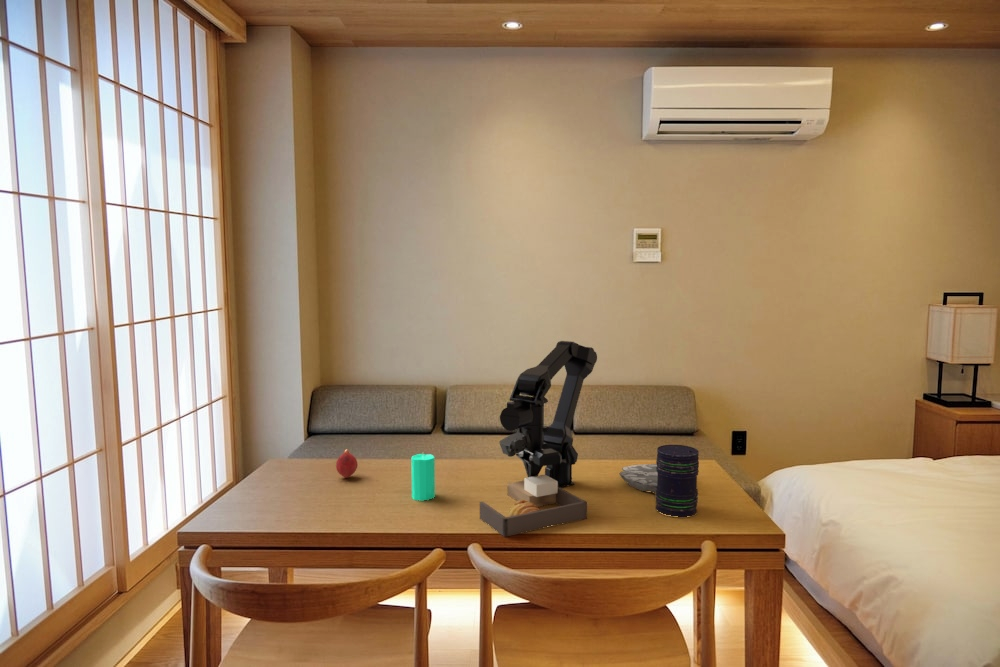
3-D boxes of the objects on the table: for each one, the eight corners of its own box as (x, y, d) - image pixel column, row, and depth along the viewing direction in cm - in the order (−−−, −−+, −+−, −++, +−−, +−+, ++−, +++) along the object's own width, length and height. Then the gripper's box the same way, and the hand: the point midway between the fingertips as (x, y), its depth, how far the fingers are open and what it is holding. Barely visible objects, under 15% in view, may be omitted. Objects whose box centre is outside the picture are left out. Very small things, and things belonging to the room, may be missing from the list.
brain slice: (627, 470, 195) (627, 460, 195) (688, 477, 189) (688, 467, 189) (612, 492, 177) (612, 481, 177) (679, 500, 171) (679, 489, 171)
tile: (544, 485, 172) (544, 474, 172) (557, 493, 167) (557, 481, 167) (524, 489, 169) (524, 478, 169) (536, 497, 164) (536, 485, 164)
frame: (558, 502, 169) (558, 486, 168) (586, 518, 158) (587, 502, 158) (479, 518, 158) (479, 502, 158) (504, 536, 148) (504, 519, 148)
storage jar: (652, 514, 161) (653, 453, 159) (658, 501, 170) (659, 442, 168) (695, 520, 157) (697, 457, 156) (699, 506, 166) (701, 446, 165)
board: (537, 489, 179) (537, 478, 178) (560, 502, 169) (560, 490, 169) (507, 494, 174) (507, 483, 174) (529, 508, 165) (529, 496, 165)
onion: (355, 481, 185) (354, 452, 184) (334, 481, 185) (333, 452, 184) (359, 474, 191) (359, 447, 190) (339, 474, 191) (338, 446, 190)
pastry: (550, 525, 155) (550, 509, 154) (524, 531, 152) (524, 514, 151) (531, 512, 163) (531, 496, 163) (506, 517, 160) (506, 501, 160)
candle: (431, 501, 170) (430, 455, 168) (408, 499, 171) (407, 453, 169) (438, 493, 175) (437, 448, 174) (416, 491, 177) (415, 447, 175)
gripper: (487, 418, 175) (487, 477, 176) (522, 435, 158) (522, 499, 160) (524, 413, 180) (524, 470, 182) (563, 429, 163) (562, 492, 165)
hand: (531, 482), depth 172 cm, fingers closed
